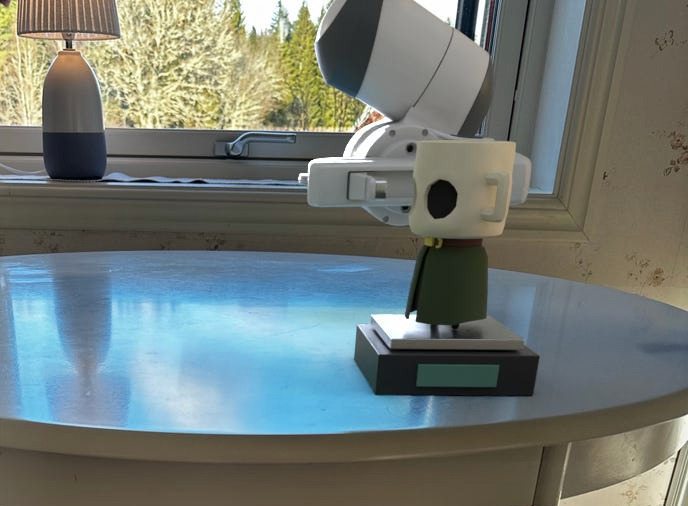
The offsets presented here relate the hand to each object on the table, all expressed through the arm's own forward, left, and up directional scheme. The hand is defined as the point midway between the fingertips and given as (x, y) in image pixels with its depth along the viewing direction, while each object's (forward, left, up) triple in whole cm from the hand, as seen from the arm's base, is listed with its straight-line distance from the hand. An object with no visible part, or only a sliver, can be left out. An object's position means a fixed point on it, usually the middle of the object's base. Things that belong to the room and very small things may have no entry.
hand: (433, 189), depth 82 cm
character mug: (+1, +12, -9) cm, 15 cm away
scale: (+1, +12, -13) cm, 18 cm away
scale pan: (+1, +12, -10) cm, 16 cm away
